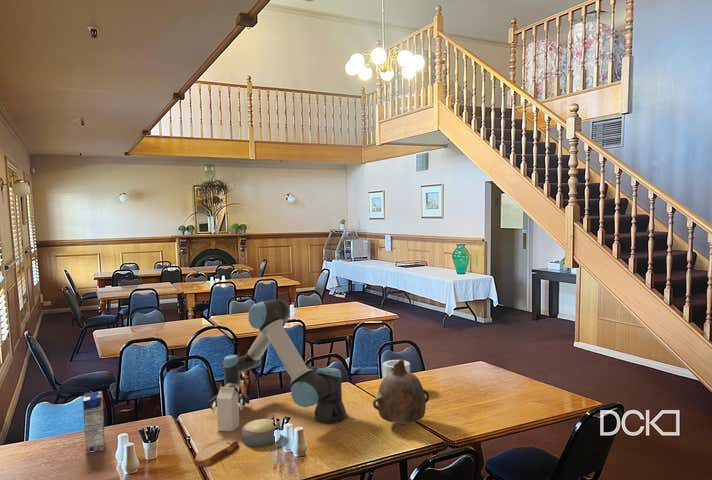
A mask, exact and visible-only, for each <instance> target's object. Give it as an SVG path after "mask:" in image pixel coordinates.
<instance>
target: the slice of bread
mask: <svg viewBox="0 0 712 480" xmlns="http://www.w3.org/2000/svg"><path fill="white" fill-rule="evenodd" d="M238 445H239V442H238V441H237V440H236V439H235V440H231V439H229V440H228V439H226V438H225V439H224V438H218V439H216V440H214V441H212V442H210V443H207V444H206V445H205V446H203V447H202V448H201V449H200V450H199V451H198V453H196V455H195V458H194V464H195V466H196V467H200V468H202V467H203V468H205V467H206V465H207V466H209V465H211V464H213V462H214V463H215V462H217V461H218V459H219V460H221V459H222V458H223V457H225V456H227V455H228V454H230V453H231V452H232V451H233V450H234V449H235V448H237V446H238Z"/></svg>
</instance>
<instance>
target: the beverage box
mask: <svg viewBox="0 0 712 480" xmlns="http://www.w3.org/2000/svg"><path fill="white" fill-rule="evenodd" d="M103 398H104V397H103V390H100V391H94V392H87V393H84V394H83V400H82V402H83V421H84V439H85V440H84V442H85V453H86V452H90V451H95V450H100V449H104V446H105V442H106V441H105V440H106V439H105V438H106V437H105V419H104V418H105V417H104V400H103ZM104 450H105V449H104Z"/></svg>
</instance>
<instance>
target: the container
mask: <svg viewBox="0 0 712 480" xmlns="http://www.w3.org/2000/svg"><path fill="white" fill-rule="evenodd" d="M399 360H400V359H392V360H391V359H389V360H386V361H384V362H382V380H383V379H384V377H385V376H386V375H387V374H389V373H391V369H392V368H393V367H394V364H395V363H397V362H398V361H399ZM404 365H405V369H406V371H409V372H411V363H410V361H407V360H404Z"/></svg>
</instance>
